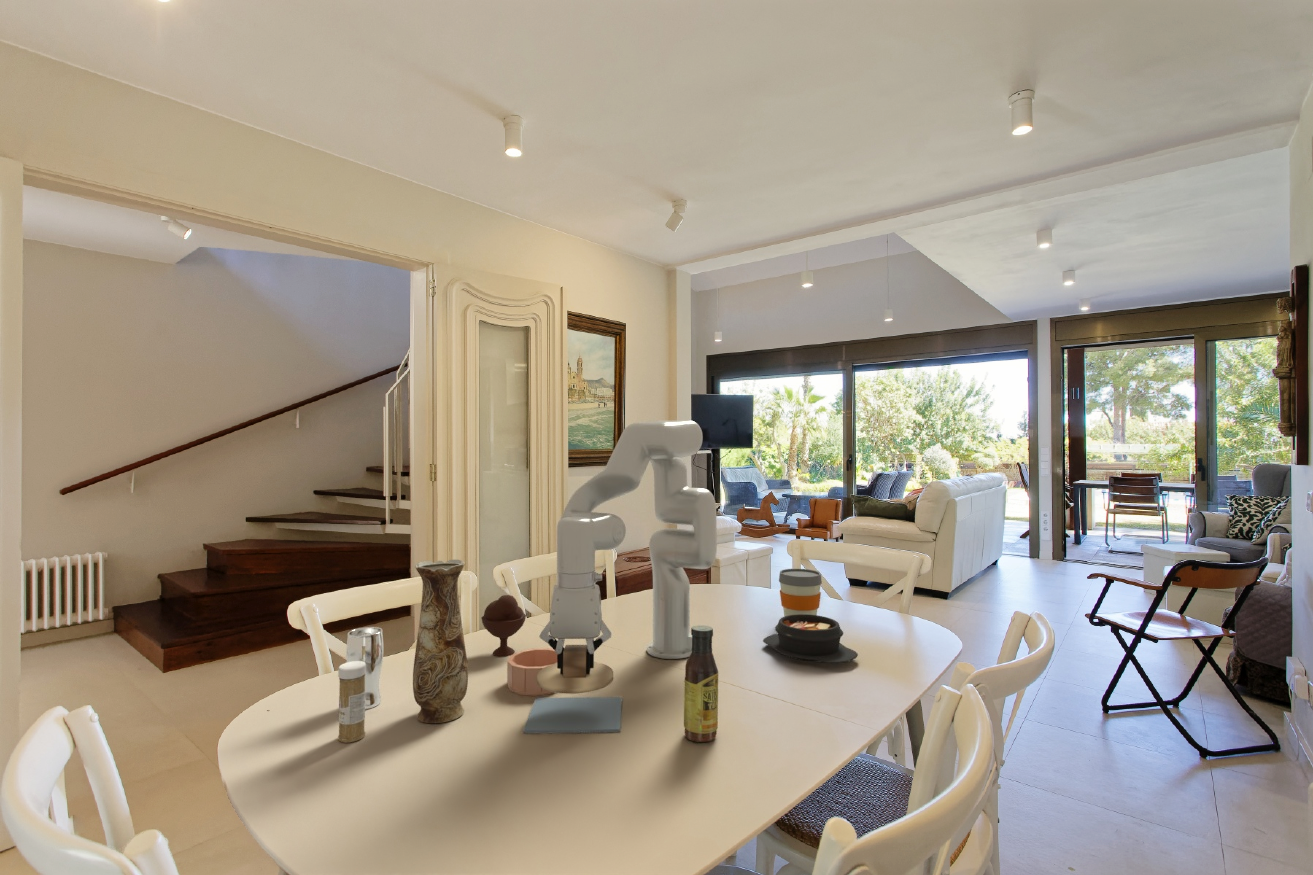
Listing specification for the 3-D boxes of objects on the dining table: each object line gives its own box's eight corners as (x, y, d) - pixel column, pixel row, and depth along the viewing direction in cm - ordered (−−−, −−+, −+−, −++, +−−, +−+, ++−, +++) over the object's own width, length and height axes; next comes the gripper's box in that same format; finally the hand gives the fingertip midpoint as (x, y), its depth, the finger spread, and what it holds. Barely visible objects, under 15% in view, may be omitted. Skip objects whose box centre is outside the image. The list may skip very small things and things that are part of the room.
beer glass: (390, 699, 133) (391, 628, 134) (365, 713, 127) (365, 638, 127) (364, 695, 136) (364, 625, 136) (338, 708, 129) (338, 634, 129)
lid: (614, 669, 134) (614, 636, 134) (611, 698, 119) (612, 660, 119) (543, 670, 133) (543, 636, 133) (531, 699, 118) (531, 661, 118)
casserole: (747, 649, 166) (747, 617, 166) (792, 635, 178) (792, 605, 178) (829, 677, 147) (829, 640, 147) (872, 659, 159) (872, 625, 159)
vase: (416, 729, 120) (416, 570, 120) (409, 708, 129) (410, 561, 129) (472, 718, 124) (473, 565, 125) (462, 699, 134) (462, 556, 134)
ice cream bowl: (530, 646, 168) (530, 589, 168) (516, 661, 157) (517, 600, 157) (491, 645, 169) (491, 588, 169) (475, 659, 158) (475, 599, 158)
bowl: (570, 673, 149) (570, 648, 149) (563, 695, 136) (563, 667, 136) (514, 674, 149) (514, 648, 149) (502, 696, 136) (502, 668, 136)
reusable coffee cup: (794, 614, 199) (794, 566, 199) (829, 622, 190) (829, 572, 190) (770, 622, 191) (770, 572, 191) (806, 631, 182) (806, 579, 182)
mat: (621, 699, 134) (621, 696, 134) (620, 731, 119) (620, 729, 119) (536, 700, 133) (536, 697, 133) (523, 733, 118) (523, 730, 118)
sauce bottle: (707, 747, 113) (708, 635, 113) (677, 738, 116) (677, 629, 116) (724, 733, 118) (724, 626, 119) (694, 725, 122) (694, 621, 122)
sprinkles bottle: (334, 737, 117) (334, 664, 117) (360, 729, 120) (361, 658, 120) (342, 746, 113) (343, 670, 113) (369, 738, 116) (369, 664, 116)
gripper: (618, 575, 130) (618, 664, 130) (536, 575, 130) (535, 665, 130) (617, 583, 123) (617, 678, 123) (530, 584, 122) (529, 679, 122)
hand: (575, 670), depth 126 cm, fingers closed on lid, 4 cm apart
